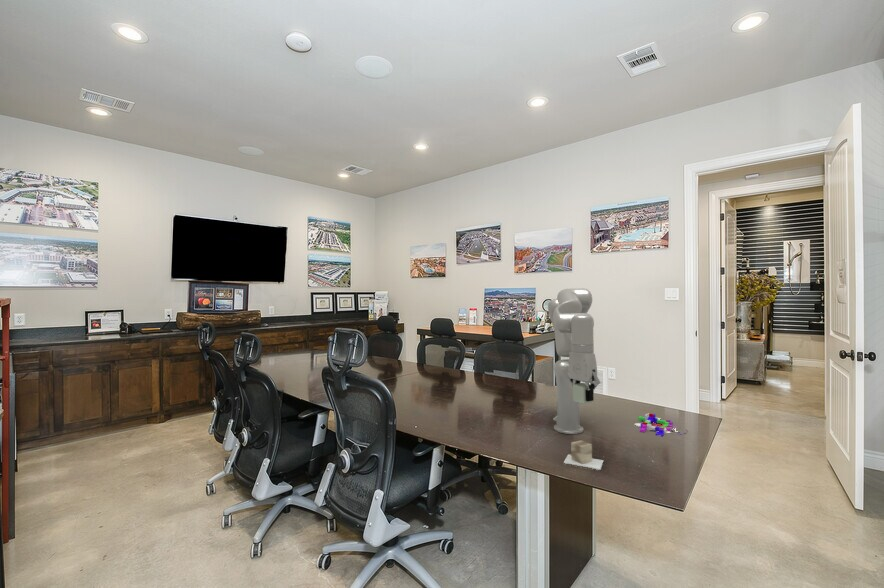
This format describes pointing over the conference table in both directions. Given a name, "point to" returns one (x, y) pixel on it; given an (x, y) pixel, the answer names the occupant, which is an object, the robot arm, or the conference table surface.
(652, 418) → the building block set
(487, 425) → the conference table surface
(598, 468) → the external hard drive
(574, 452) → the birch block
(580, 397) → the sage block
